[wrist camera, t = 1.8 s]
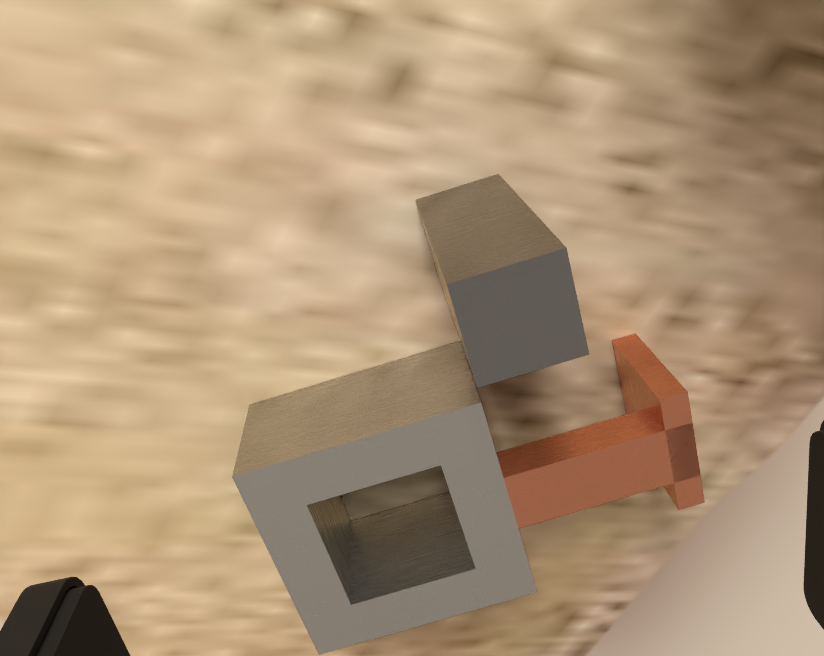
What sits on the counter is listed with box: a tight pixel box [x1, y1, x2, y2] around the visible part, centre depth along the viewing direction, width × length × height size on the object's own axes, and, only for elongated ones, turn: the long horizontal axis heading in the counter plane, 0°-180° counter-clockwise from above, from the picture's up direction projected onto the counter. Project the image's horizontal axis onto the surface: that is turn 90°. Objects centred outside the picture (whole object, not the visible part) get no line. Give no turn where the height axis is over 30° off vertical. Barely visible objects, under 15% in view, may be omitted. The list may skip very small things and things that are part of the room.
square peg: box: [416, 174, 589, 388], centre depth 23 cm, size 3×3×9 cm
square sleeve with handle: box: [232, 334, 704, 655], centre depth 29 cm, size 16×9×5 cm, turn 107°
